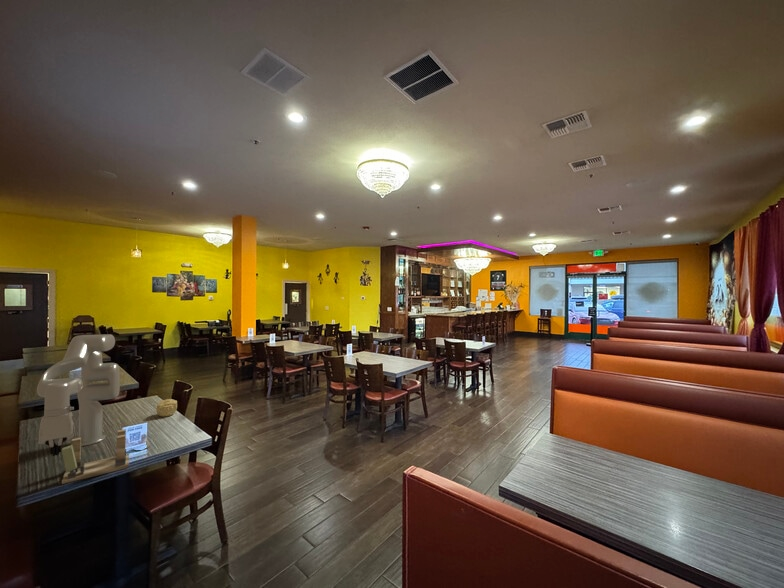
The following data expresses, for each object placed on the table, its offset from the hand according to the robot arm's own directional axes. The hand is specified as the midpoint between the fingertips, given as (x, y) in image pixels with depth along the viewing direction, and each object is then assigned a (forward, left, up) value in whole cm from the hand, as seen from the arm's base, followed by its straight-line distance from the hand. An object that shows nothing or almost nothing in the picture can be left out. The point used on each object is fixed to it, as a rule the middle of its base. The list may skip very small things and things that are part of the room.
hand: (55, 454), depth 138 cm
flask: (-18, +29, -12) cm, 37 cm away
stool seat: (-4, +13, -12) cm, 18 cm away
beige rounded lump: (-68, +43, -12) cm, 82 cm away
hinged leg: (0, +5, -10) cm, 11 cm away
